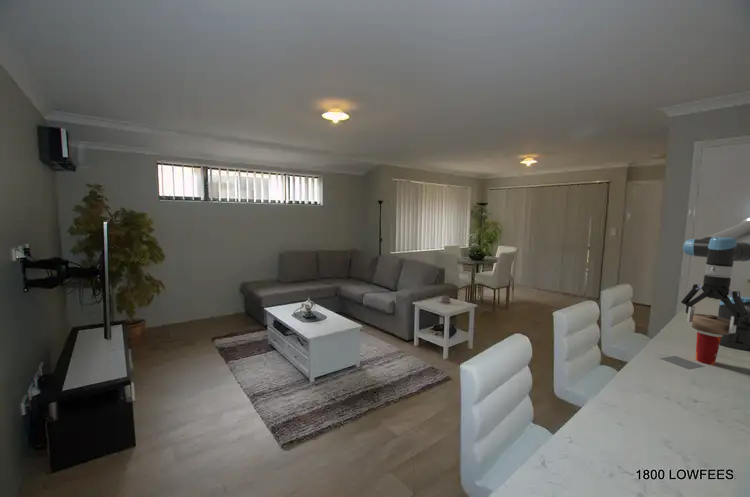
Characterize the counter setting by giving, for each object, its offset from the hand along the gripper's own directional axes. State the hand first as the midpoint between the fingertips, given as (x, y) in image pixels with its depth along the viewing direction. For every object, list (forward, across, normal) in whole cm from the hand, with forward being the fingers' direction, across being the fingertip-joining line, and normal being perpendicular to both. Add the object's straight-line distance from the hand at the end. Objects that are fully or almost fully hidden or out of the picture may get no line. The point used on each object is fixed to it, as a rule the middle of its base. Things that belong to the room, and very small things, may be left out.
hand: (709, 327), depth 136 cm
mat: (+15, -2, -11) cm, 19 cm away
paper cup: (+15, 0, 0) cm, 15 cm away
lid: (+1, 0, 0) cm, 1 cm away
